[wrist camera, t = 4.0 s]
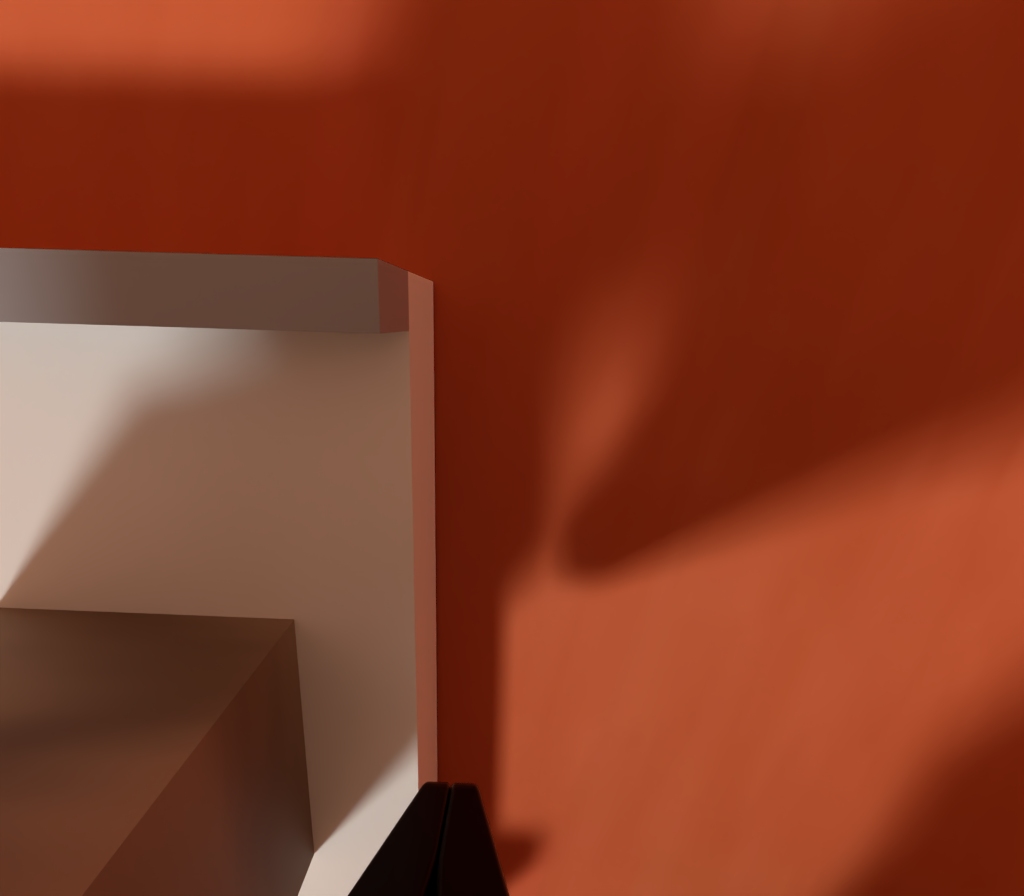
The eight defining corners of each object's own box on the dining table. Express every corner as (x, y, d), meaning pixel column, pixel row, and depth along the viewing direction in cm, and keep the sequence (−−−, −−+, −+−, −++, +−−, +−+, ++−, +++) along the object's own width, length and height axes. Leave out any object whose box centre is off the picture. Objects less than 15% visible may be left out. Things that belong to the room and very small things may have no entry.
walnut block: (294, 618, 8) (44, 944, 4) (314, 853, 10) (141, 1295, 5) (-4, 607, 8) (-562, 912, 4) (53, 841, 10) (-331, 1267, 5)
